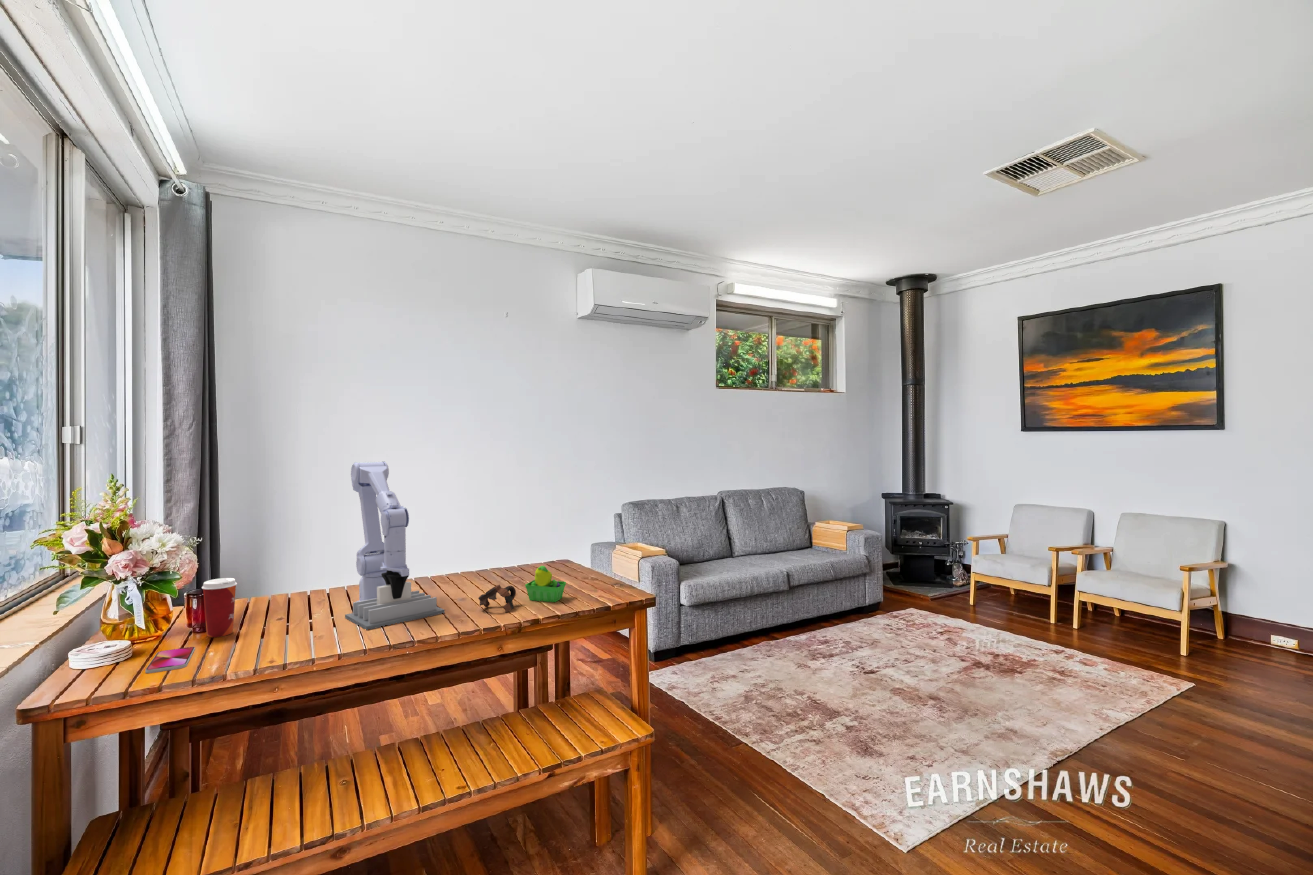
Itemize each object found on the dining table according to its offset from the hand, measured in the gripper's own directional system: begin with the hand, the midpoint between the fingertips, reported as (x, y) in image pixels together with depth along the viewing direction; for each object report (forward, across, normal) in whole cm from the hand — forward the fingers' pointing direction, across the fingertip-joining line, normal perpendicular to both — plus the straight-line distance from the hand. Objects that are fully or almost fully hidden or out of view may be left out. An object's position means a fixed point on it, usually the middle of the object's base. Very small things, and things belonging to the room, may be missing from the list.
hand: (395, 597), depth 178 cm
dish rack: (+5, 0, 0) cm, 5 cm away
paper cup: (+5, -17, -39) cm, 43 cm away
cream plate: (+4, 0, 0) cm, 4 cm away
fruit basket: (+6, +17, +40) cm, 44 cm away
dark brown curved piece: (+6, +16, +25) cm, 30 cm away
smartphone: (+6, -2, -51) cm, 51 cm away
